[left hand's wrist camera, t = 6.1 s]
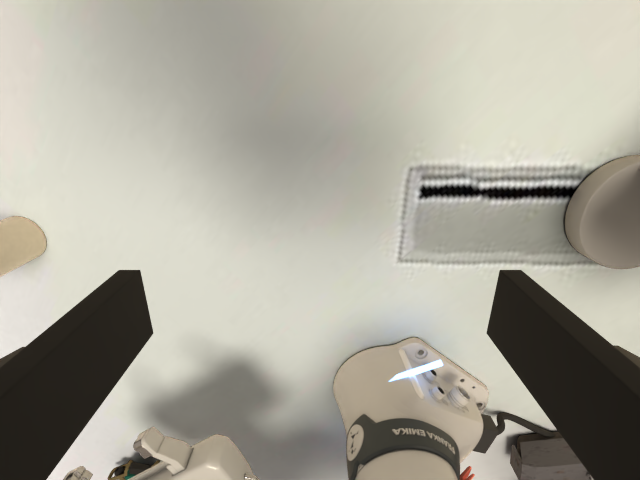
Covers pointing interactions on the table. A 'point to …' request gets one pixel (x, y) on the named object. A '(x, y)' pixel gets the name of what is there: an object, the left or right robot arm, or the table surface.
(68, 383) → the left robot arm
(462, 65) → the table surface
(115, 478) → the spray gun
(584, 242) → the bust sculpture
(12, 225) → the bottle
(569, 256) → the table surface
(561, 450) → the toy
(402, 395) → the right robot arm
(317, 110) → the table surface
